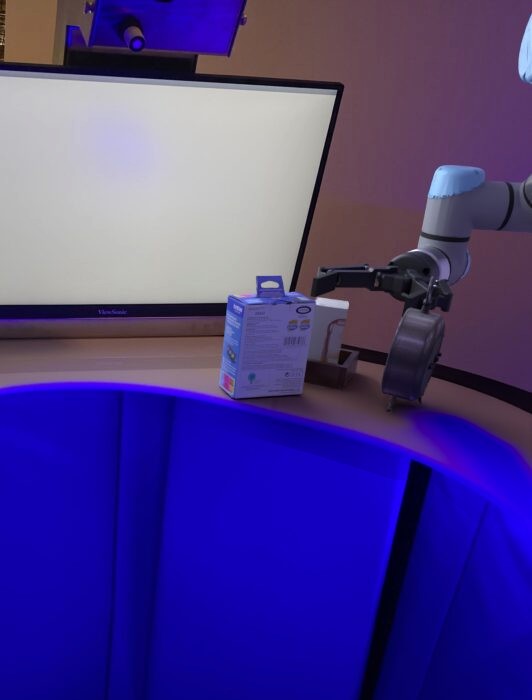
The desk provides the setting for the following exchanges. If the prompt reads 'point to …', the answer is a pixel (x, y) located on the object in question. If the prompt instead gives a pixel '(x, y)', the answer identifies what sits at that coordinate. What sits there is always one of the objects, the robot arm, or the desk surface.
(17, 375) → the desk surface
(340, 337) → the white box
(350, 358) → the holder
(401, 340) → the alarm clock
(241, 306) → the ink cartridge box
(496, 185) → the robot arm
